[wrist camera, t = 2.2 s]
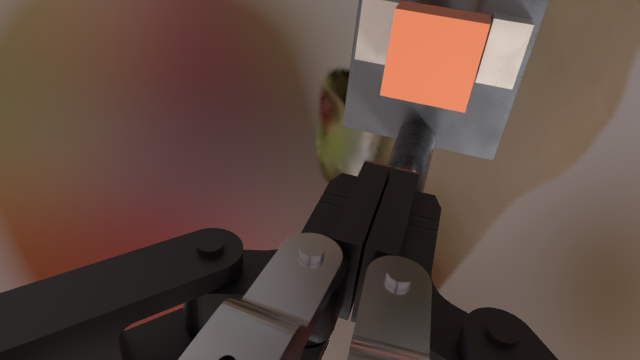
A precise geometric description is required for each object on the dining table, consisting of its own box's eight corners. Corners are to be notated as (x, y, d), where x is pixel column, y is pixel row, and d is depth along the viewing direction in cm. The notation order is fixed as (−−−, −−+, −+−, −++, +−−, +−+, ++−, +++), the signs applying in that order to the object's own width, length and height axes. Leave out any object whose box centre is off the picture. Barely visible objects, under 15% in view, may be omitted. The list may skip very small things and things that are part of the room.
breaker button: (408, -9, 26) (394, 8, 22) (490, 4, 25) (490, 24, 21) (394, 68, 28) (379, 95, 24) (468, 82, 27) (464, 113, 23)
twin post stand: (386, -136, 25) (290, -161, 13) (581, -116, 23) (678, -123, 11) (349, 123, 34) (271, 252, 22) (489, 154, 32) (487, 315, 20)
